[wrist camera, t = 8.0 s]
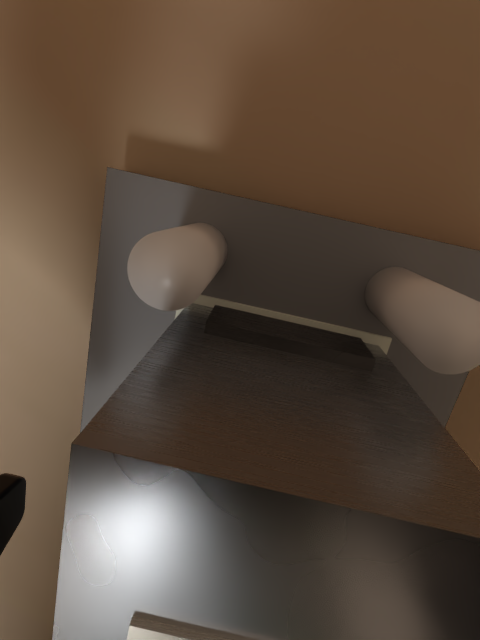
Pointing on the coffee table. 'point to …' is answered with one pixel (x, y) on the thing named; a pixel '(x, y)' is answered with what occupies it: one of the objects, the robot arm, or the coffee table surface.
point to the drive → (267, 496)
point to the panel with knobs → (276, 282)
